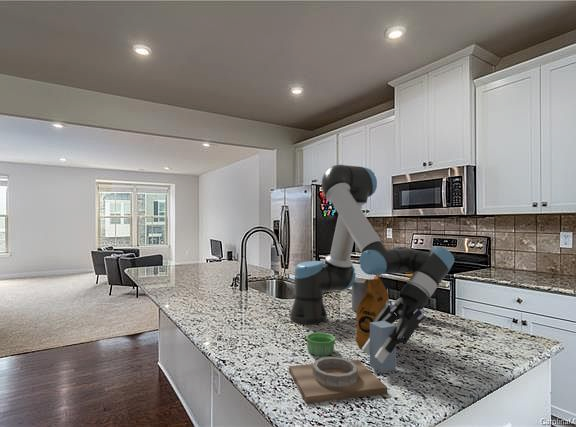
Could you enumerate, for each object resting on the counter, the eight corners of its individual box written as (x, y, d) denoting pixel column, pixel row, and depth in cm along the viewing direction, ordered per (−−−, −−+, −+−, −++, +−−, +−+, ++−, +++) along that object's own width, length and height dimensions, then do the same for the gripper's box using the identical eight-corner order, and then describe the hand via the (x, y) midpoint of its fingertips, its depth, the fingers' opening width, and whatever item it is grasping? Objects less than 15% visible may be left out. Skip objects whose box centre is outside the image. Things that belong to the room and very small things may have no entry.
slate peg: (369, 365, 94) (369, 322, 94) (383, 362, 96) (383, 320, 96) (381, 373, 89) (381, 327, 89) (395, 369, 91) (396, 325, 91)
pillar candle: (372, 308, 156) (372, 276, 156) (374, 313, 146) (373, 279, 146) (351, 307, 157) (351, 275, 158) (351, 313, 148) (351, 279, 148)
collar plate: (289, 371, 89) (289, 356, 89) (357, 365, 94) (358, 350, 94) (305, 403, 74) (306, 385, 74) (387, 393, 78) (387, 376, 78)
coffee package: (350, 346, 108) (351, 278, 109) (366, 335, 118) (366, 273, 119) (380, 353, 102) (380, 281, 103) (394, 342, 112) (394, 276, 113)
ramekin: (336, 347, 107) (336, 333, 108) (333, 358, 99) (333, 343, 99) (308, 344, 109) (308, 331, 110) (303, 355, 101) (303, 340, 101)
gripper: (449, 306, 91) (402, 378, 84) (402, 293, 107) (360, 352, 100) (435, 288, 89) (385, 360, 82) (389, 277, 105) (345, 336, 98)
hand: (371, 355), depth 91 cm, fingers closed on slate peg, 5 cm apart
